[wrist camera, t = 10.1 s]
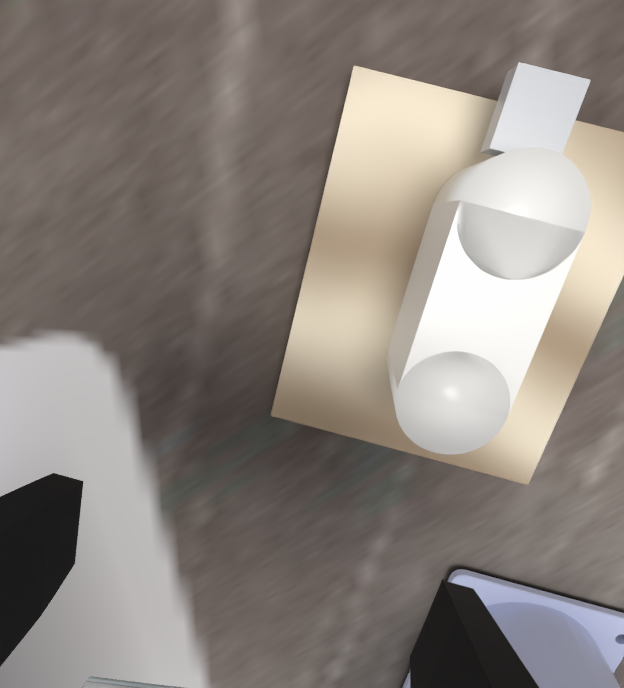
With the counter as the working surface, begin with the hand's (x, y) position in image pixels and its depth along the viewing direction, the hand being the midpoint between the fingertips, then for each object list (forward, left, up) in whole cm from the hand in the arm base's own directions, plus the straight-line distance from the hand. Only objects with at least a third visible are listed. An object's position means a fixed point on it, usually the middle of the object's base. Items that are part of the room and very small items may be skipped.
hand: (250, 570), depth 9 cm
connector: (+6, -4, -8) cm, 11 cm away
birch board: (+5, -4, -9) cm, 11 cm away
